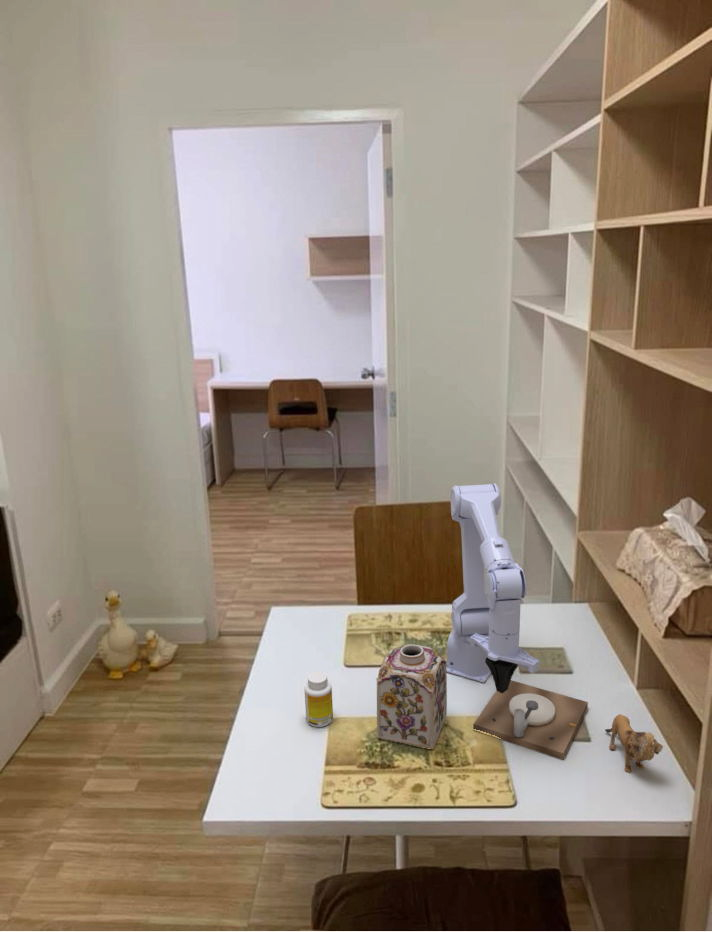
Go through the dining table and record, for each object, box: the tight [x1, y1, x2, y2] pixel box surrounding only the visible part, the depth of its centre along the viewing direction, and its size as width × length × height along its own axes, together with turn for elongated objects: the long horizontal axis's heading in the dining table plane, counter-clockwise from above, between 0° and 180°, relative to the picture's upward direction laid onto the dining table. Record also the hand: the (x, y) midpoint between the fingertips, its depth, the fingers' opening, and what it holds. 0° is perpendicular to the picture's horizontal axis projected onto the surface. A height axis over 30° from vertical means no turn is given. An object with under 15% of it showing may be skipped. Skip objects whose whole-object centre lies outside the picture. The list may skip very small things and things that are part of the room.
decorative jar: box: [376, 643, 448, 750], centre depth 143 cm, size 12×12×18 cm
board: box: [472, 679, 589, 761], centre depth 147 cm, size 18×18×2 cm
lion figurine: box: [604, 713, 664, 774], centre depth 134 cm, size 15×5×9 cm, turn 14°
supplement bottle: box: [304, 671, 334, 728], centre depth 148 cm, size 6×6×10 cm
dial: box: [509, 693, 555, 737], centre depth 144 cm, size 14×9×5 cm, turn 149°
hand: (502, 689), depth 141 cm, fingers closed
